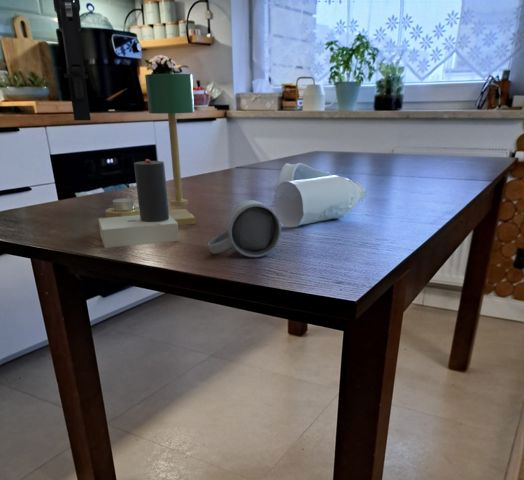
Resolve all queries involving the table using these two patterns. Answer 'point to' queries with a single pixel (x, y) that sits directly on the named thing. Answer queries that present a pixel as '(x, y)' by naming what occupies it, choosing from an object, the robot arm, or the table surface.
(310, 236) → the table surface
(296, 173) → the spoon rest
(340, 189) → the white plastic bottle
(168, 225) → the plate
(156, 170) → the dark grey cylinder
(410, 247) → the table surface
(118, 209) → the lamp switch
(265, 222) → the ceramic mug
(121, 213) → the lamp base
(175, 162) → the desk lamp
